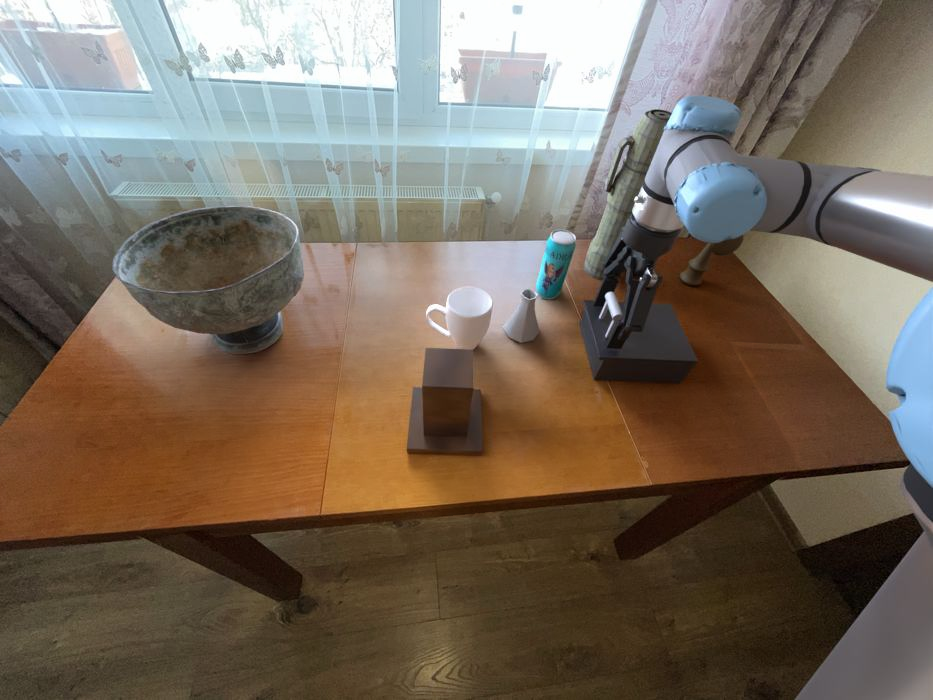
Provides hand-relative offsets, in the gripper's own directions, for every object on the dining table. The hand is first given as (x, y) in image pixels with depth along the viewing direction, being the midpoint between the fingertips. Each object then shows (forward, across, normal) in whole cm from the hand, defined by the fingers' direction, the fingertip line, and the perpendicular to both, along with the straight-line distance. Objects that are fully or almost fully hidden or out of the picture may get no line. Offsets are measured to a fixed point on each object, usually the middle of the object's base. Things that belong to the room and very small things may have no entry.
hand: (606, 325), depth 75 cm
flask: (+8, -5, -15) cm, 17 cm away
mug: (+8, 0, -28) cm, 29 cm away
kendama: (+8, -24, +29) cm, 39 cm away
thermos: (+8, -27, +8) cm, 29 cm away
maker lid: (+1, 0, +6) cm, 6 cm away
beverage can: (+8, -17, -7) cm, 20 cm away
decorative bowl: (+8, -2, -69) cm, 69 cm away
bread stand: (+7, +18, -30) cm, 35 cm away
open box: (+7, 0, +7) cm, 10 cm away
